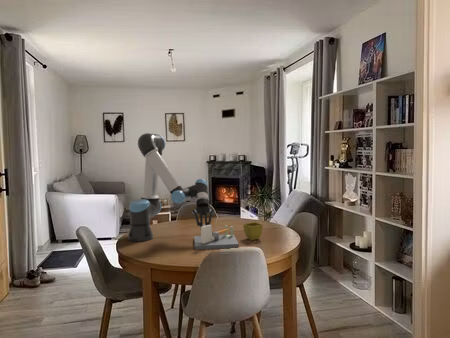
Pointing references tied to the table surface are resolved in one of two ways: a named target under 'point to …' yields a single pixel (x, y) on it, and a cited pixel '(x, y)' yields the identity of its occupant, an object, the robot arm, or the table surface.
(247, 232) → the flower pot
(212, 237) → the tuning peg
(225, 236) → the lever toy board
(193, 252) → the table surface
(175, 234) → the table surface
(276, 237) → the table surface
